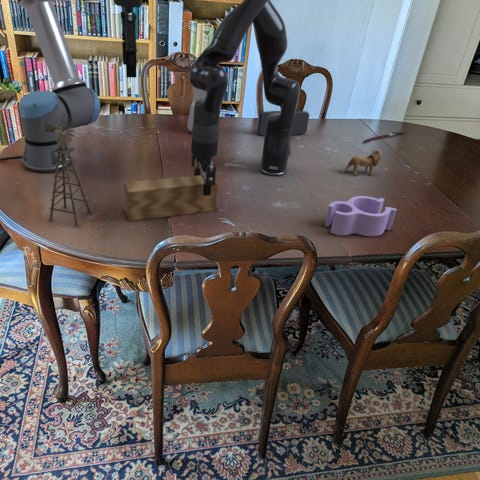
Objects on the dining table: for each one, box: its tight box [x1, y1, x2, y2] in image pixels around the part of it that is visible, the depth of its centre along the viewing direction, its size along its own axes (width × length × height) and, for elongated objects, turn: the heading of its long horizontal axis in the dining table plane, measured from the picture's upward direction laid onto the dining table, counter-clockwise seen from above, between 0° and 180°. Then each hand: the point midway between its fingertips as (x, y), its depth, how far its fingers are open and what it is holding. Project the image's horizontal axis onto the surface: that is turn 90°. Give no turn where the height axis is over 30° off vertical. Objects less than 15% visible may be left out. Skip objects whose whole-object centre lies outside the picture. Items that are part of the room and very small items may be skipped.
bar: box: [123, 175, 218, 222], centre depth 138 cm, size 26×6×9 cm, turn 113°
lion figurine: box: [343, 149, 383, 176], centre depth 175 cm, size 15×5×9 cm, turn 110°
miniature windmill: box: [44, 113, 92, 227], centre depth 124 cm, size 9×8×30 cm
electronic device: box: [186, 55, 219, 134], centre depth 192 cm, size 12×8×30 cm, turn 148°
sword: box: [363, 131, 407, 144], centre depth 214 cm, size 31×3×1 cm, turn 126°
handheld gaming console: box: [257, 110, 310, 136], centre depth 203 cm, size 23×3×10 cm, turn 108°
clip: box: [324, 195, 398, 237], centre depth 141 cm, size 20×12×7 cm, turn 109°
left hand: (129, 70), depth 137 cm, fingers open, 13 cm apart
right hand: (202, 188), depth 141 cm, fingers open, 8 cm apart
